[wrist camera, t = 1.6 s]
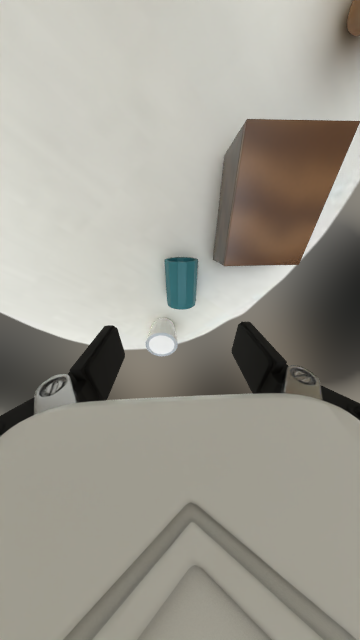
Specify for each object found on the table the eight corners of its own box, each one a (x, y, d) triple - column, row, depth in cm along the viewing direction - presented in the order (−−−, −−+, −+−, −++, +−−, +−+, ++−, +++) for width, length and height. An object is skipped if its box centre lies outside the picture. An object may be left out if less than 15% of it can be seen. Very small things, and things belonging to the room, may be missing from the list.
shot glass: (181, 331, 36) (182, 350, 30) (159, 340, 37) (156, 360, 31) (168, 311, 33) (167, 328, 27) (144, 322, 34) (139, 340, 28)
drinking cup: (165, 257, 26) (163, 262, 21) (195, 257, 26) (200, 261, 22) (168, 298, 31) (167, 309, 26) (193, 297, 31) (197, 309, 26)
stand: (224, 154, 19) (246, 118, 14) (304, 155, 20) (360, 120, 14) (212, 259, 27) (224, 266, 21) (271, 258, 27) (298, 264, 21)
